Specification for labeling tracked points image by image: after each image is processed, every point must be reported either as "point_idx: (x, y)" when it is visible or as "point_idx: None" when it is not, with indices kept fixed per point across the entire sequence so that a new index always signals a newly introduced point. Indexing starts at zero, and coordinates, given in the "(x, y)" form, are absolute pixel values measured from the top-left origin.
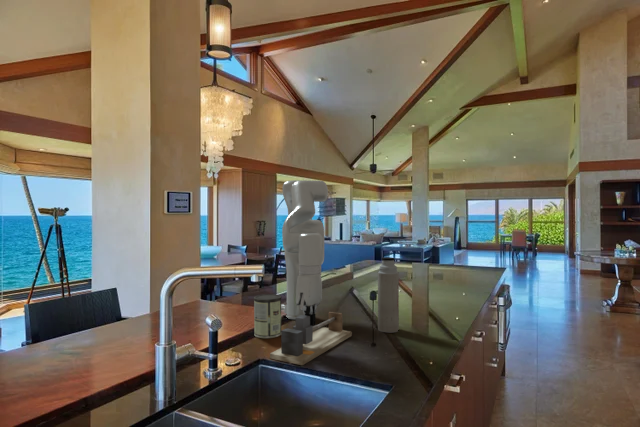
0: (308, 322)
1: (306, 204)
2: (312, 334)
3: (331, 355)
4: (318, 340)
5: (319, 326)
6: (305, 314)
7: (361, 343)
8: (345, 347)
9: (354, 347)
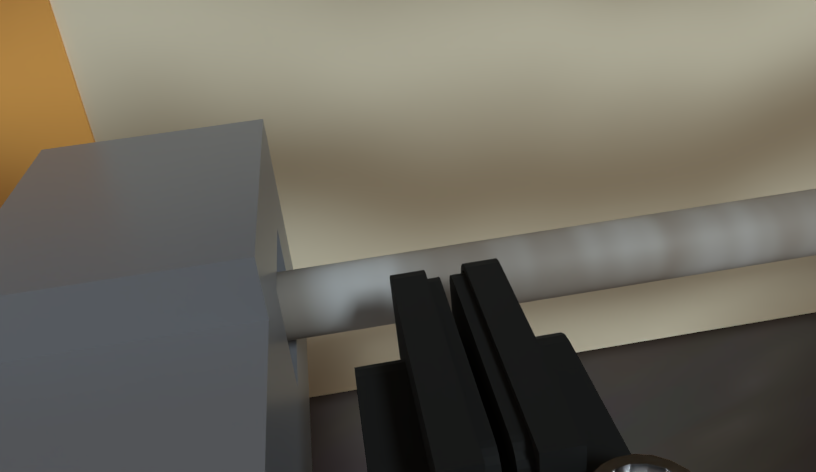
0: None
1: None
2: (307, 400)
3: (344, 444)
4: (588, 173)
5: (719, 266)
6: (434, 460)
7: (813, 436)
8: (633, 404)
9: (672, 455)
